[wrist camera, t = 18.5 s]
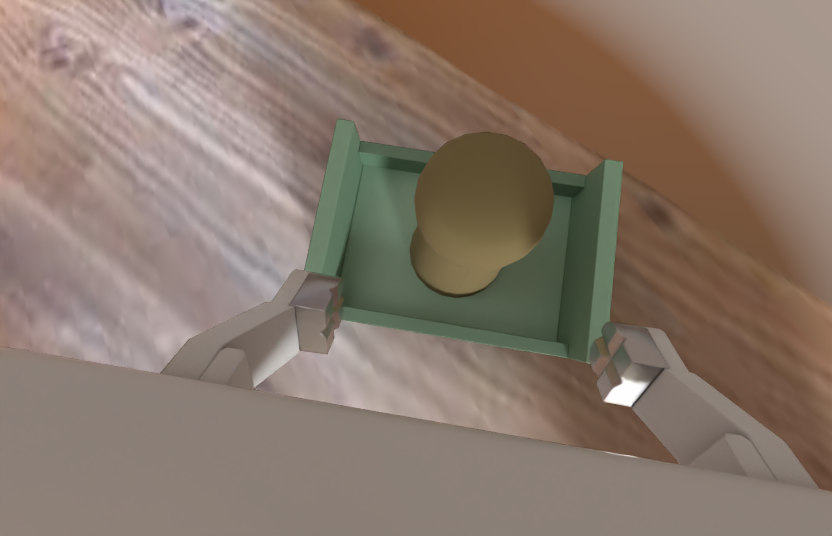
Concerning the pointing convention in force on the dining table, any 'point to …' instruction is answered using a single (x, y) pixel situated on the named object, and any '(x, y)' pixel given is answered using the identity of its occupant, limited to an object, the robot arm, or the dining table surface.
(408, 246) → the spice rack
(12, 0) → the dining table surface
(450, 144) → the olive tall rounded piece
